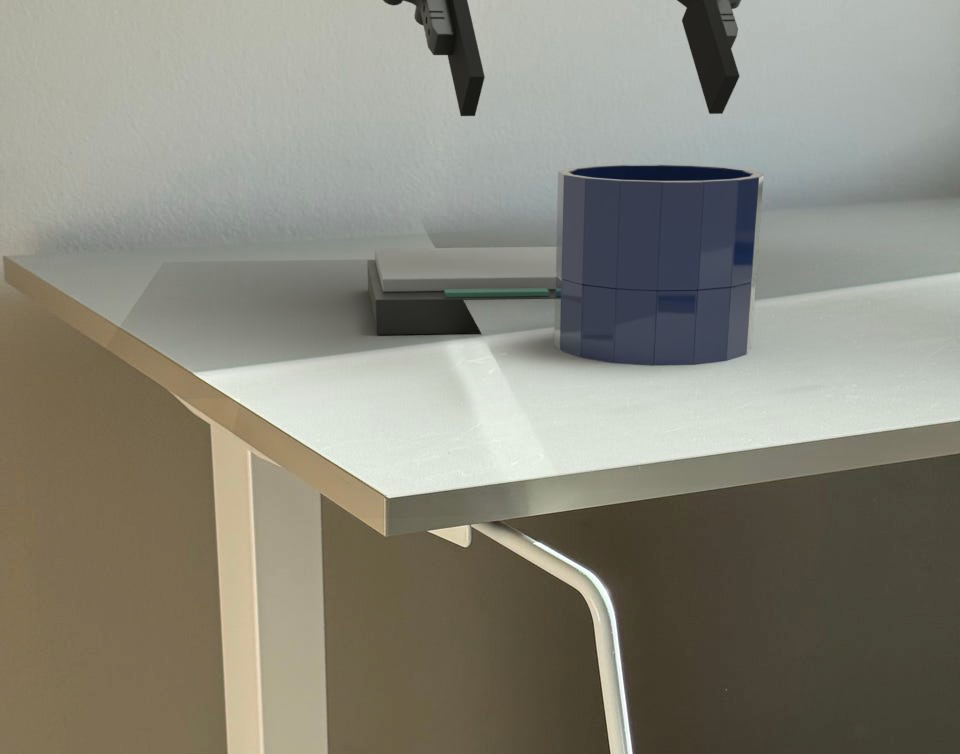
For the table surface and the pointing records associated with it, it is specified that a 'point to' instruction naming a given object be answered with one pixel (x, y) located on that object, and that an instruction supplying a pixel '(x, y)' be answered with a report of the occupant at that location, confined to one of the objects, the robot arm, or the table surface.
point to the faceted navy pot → (656, 262)
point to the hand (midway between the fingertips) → (601, 96)
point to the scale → (452, 285)
